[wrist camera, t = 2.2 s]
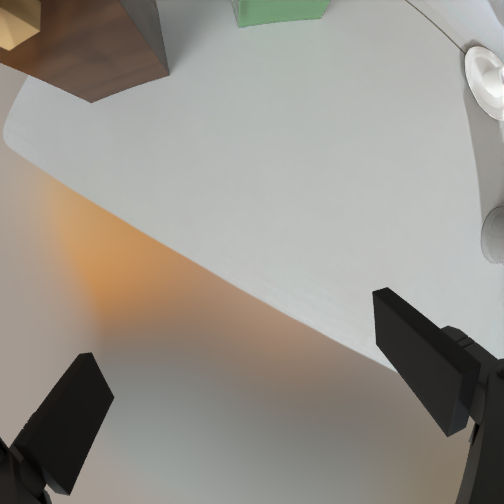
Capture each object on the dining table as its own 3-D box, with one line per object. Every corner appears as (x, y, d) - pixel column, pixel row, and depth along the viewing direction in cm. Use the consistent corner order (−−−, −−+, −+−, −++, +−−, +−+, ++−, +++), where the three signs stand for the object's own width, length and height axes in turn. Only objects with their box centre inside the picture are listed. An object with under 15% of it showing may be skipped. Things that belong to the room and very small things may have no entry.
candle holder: (452, 43, 30) (468, 34, 26) (499, 52, 30) (515, 46, 26) (474, 121, 33) (494, 117, 28) (518, 121, 32) (536, 119, 28)
